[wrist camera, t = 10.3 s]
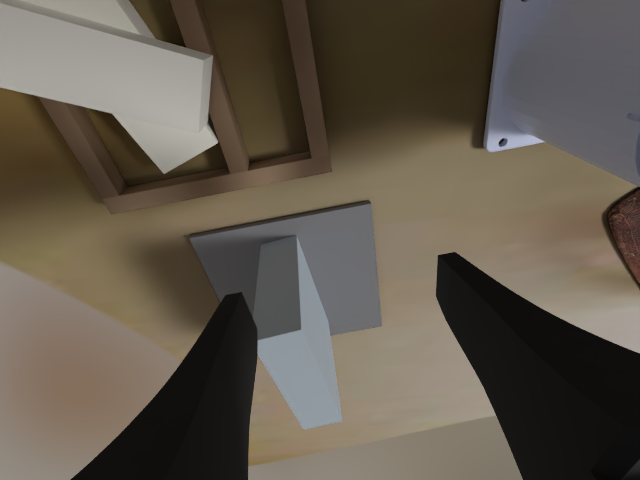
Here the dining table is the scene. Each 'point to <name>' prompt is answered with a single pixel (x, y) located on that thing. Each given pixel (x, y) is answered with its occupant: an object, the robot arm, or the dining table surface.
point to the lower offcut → (156, 140)
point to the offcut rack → (223, 117)
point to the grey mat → (321, 256)
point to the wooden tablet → (628, 229)
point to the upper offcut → (102, 67)
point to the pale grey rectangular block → (295, 334)
